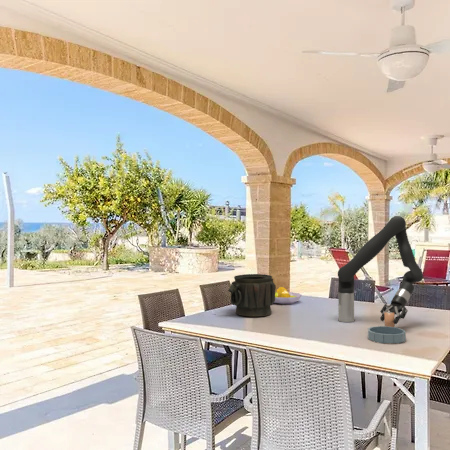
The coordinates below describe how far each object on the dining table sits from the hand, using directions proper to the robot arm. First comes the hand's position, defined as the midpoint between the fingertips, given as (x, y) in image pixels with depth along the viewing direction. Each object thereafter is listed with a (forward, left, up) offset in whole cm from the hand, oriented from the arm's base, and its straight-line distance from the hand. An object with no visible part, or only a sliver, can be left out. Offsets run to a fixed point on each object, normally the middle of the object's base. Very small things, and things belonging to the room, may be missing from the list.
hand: (387, 321), depth 249 cm
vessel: (-80, +35, -5) cm, 87 cm away
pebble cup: (+1, +1, -5) cm, 5 cm away
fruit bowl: (-65, +79, -5) cm, 102 cm away
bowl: (-3, -17, -5) cm, 18 cm away
